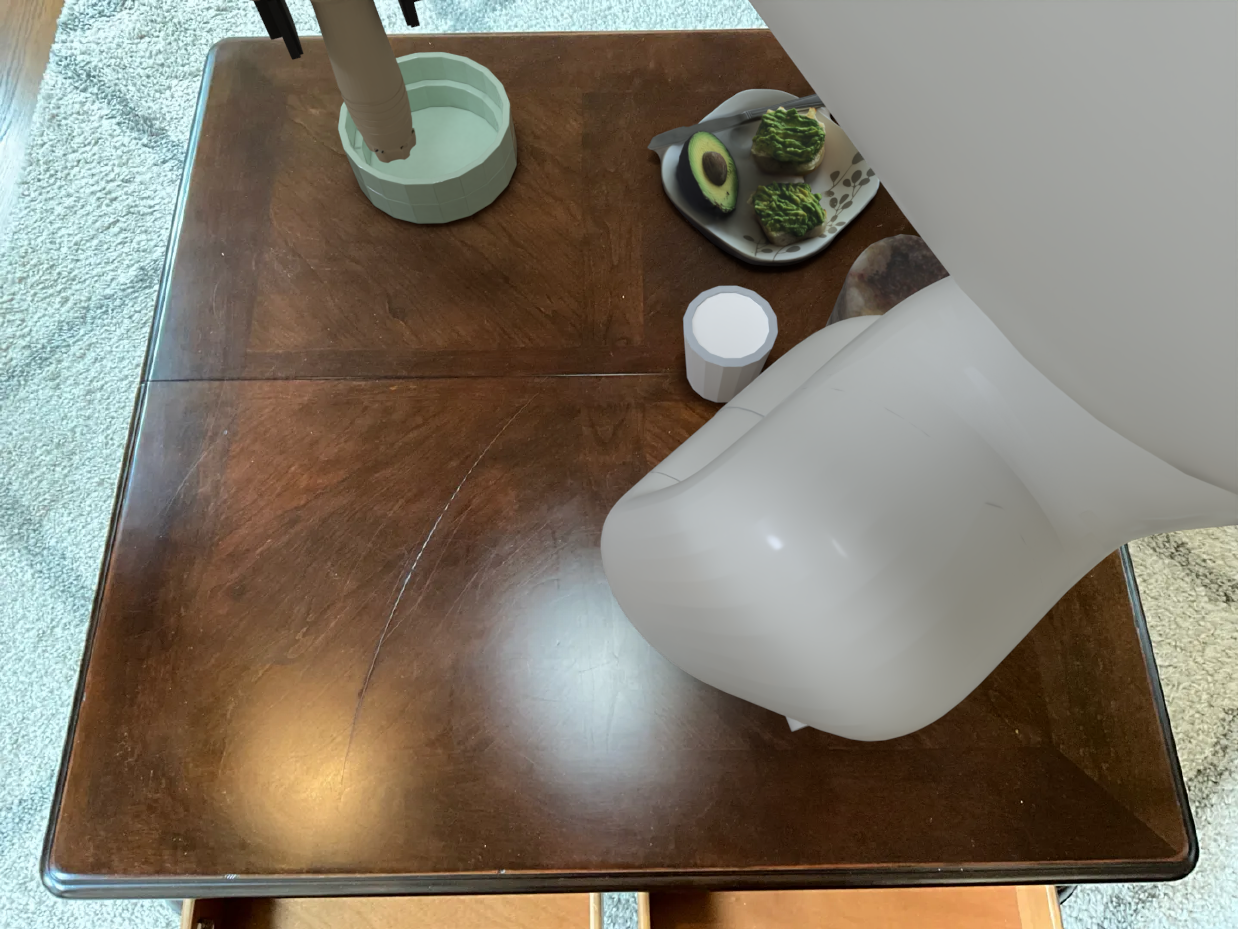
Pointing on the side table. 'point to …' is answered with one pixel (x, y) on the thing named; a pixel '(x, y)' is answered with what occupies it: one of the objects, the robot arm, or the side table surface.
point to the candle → (886, 277)
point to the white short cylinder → (727, 340)
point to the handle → (367, 75)
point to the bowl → (441, 143)
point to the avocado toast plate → (766, 176)
